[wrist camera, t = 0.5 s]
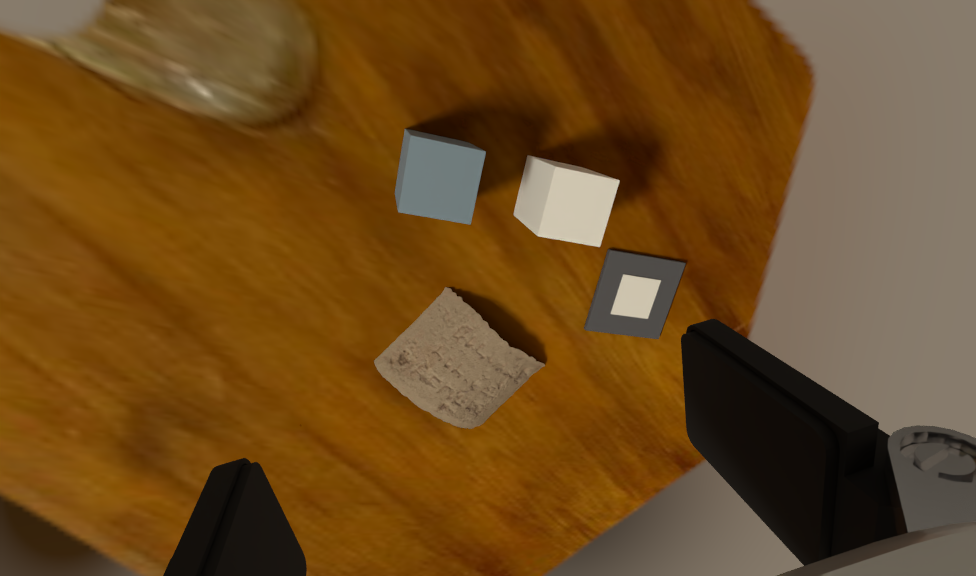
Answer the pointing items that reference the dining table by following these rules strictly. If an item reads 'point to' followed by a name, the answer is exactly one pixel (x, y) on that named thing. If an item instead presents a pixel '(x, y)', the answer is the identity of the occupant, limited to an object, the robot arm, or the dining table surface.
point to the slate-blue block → (438, 177)
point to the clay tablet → (455, 364)
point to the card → (633, 294)
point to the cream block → (565, 201)
